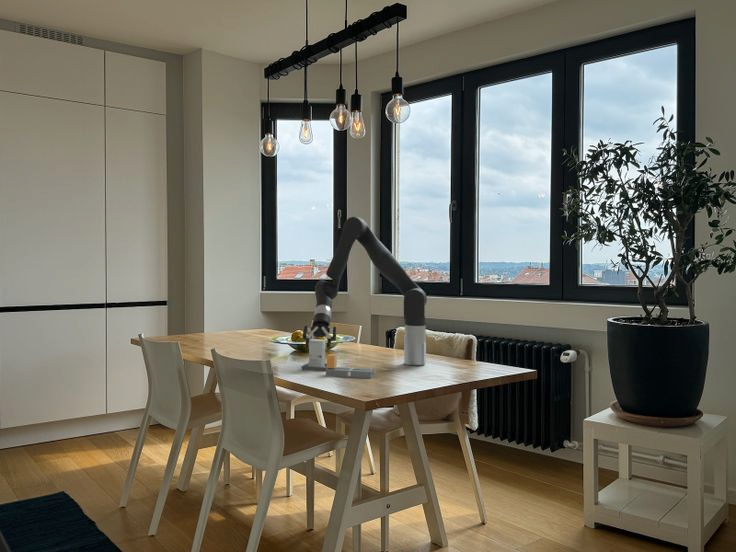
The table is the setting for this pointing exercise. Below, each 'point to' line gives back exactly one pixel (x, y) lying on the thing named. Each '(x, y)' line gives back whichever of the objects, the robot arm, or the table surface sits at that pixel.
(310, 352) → the skincare box
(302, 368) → the frame
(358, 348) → the table surface
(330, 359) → the block
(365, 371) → the switch panel
